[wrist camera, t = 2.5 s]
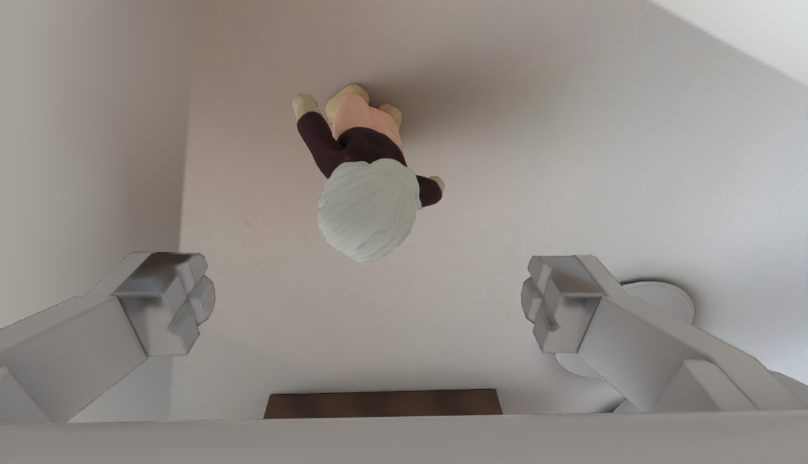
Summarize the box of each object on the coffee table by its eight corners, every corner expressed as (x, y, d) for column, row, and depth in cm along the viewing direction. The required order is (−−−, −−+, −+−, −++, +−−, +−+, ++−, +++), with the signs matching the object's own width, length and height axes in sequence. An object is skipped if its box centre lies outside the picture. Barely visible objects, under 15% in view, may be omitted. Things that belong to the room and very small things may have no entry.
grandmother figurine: (301, 129, 21) (220, 252, 11) (318, 63, 19) (241, 129, 9) (419, 172, 23) (454, 313, 12) (445, 115, 21) (511, 223, 11)
